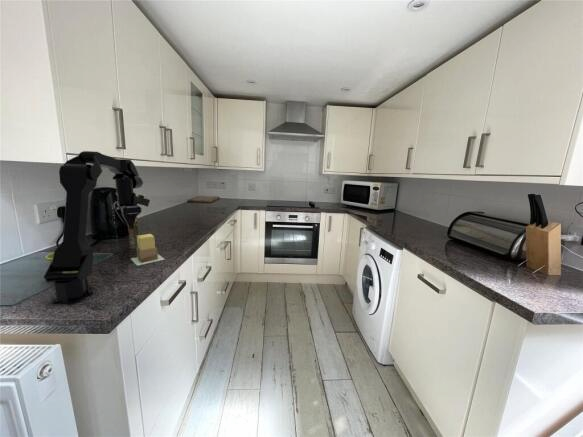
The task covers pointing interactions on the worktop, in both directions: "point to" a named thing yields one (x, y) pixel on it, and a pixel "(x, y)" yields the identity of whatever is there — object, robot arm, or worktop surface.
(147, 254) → the walnut block
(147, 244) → the mustard cube
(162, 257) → the baseplate
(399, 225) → the worktop surface
